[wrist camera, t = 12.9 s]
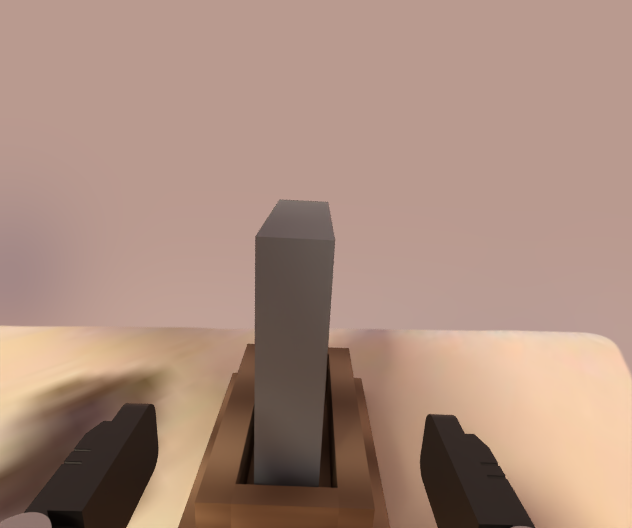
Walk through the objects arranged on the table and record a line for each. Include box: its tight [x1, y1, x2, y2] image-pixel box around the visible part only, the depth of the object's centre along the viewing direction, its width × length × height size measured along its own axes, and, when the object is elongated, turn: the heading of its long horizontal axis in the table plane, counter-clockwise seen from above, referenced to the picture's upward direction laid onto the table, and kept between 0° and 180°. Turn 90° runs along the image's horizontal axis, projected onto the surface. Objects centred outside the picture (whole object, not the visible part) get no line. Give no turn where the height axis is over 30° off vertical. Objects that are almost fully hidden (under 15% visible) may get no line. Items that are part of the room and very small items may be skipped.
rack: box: [178, 344, 390, 528], centre depth 24 cm, size 15×10×4 cm, turn 0°
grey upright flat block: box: [254, 200, 335, 487], centre depth 22 cm, size 10×3×14 cm, turn 0°
